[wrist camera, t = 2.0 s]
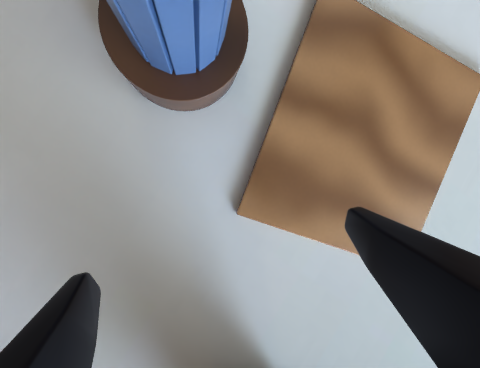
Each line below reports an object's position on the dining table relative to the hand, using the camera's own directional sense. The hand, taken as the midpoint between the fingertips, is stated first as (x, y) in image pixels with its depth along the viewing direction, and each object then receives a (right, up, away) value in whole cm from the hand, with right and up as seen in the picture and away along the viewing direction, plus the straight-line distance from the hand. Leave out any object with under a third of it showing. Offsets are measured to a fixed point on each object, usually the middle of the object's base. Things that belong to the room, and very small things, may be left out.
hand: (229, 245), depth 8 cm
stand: (-4, +12, +10) cm, 16 cm away
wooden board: (+12, +6, +13) cm, 19 cm away
